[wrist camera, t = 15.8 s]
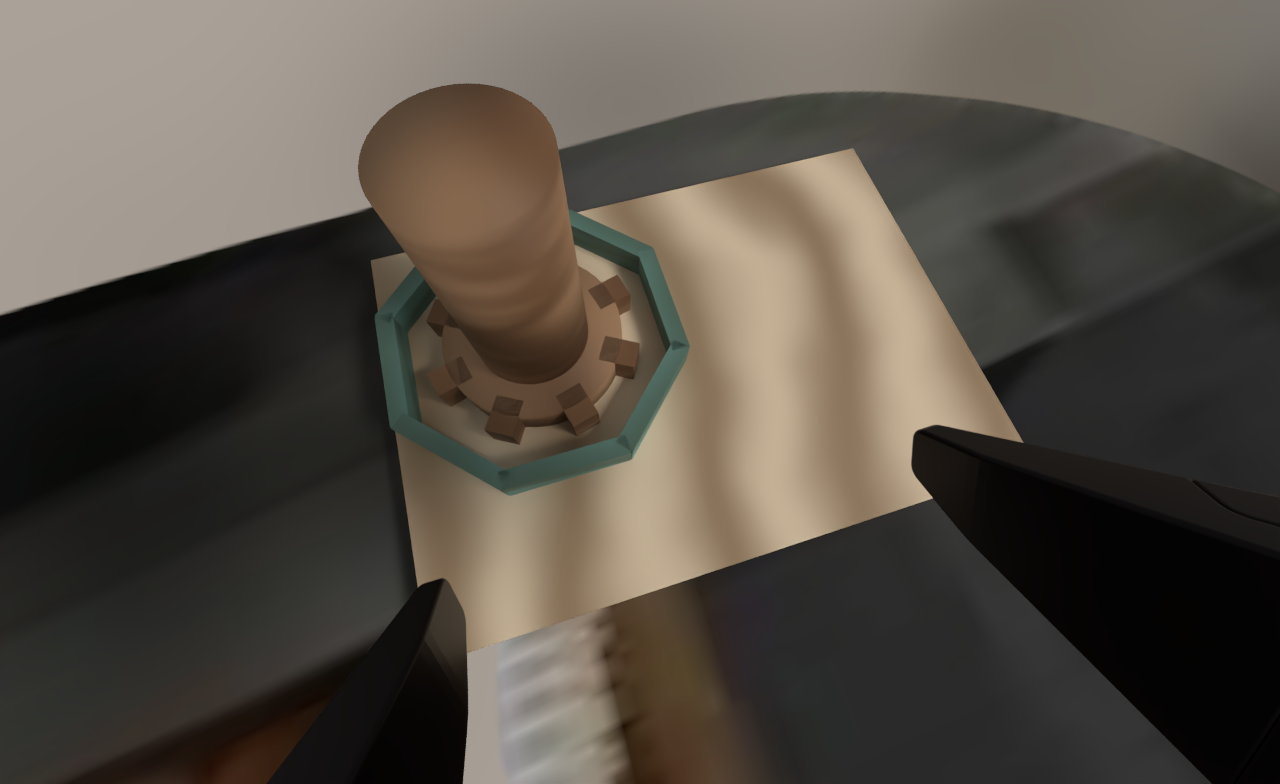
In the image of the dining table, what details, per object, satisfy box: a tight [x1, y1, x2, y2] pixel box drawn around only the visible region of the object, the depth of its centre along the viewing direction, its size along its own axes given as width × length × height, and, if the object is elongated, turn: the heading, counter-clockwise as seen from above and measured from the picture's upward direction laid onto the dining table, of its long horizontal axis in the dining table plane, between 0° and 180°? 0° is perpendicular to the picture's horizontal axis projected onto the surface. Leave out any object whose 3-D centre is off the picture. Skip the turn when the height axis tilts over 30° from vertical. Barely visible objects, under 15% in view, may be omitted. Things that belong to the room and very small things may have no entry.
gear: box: [358, 84, 640, 445], centre depth 18 cm, size 10×10×12 cm
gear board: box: [371, 149, 1023, 653], centre depth 23 cm, size 27×19×3 cm
